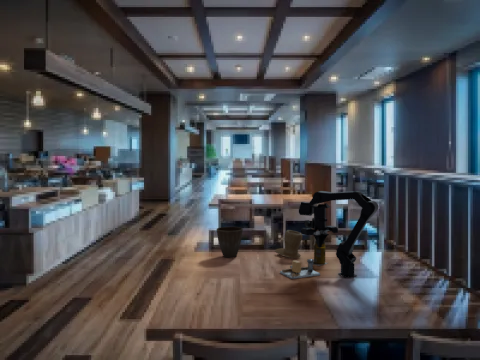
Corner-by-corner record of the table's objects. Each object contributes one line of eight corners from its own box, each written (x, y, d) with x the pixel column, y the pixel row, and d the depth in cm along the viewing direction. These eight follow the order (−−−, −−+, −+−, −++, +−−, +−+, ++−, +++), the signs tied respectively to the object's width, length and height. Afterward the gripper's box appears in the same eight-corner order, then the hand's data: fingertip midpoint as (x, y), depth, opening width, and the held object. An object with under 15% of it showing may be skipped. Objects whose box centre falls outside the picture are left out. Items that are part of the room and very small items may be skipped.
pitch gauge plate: (320, 275, 209) (320, 262, 208) (291, 279, 202) (291, 265, 202) (307, 269, 219) (307, 257, 218) (280, 273, 212) (280, 260, 212)
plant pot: (212, 258, 242) (212, 230, 241) (221, 252, 256) (221, 225, 255) (238, 260, 237) (238, 231, 236) (245, 254, 251) (245, 227, 250)
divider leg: (300, 272, 208) (300, 262, 208) (296, 273, 207) (296, 262, 207) (294, 269, 214) (294, 259, 214) (289, 270, 213) (289, 259, 213)
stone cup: (306, 258, 243) (306, 231, 242) (288, 260, 238) (288, 233, 237) (291, 252, 257) (291, 227, 256) (274, 254, 251) (274, 229, 251)
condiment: (328, 263, 232) (329, 241, 231) (319, 266, 226) (319, 243, 225) (317, 260, 237) (317, 239, 236) (308, 263, 231) (308, 241, 230)
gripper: (325, 213, 226) (325, 243, 226) (295, 215, 218) (294, 246, 219) (339, 216, 215) (338, 247, 216) (307, 218, 208) (307, 250, 209)
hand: (319, 247), depth 215 cm, fingers closed
